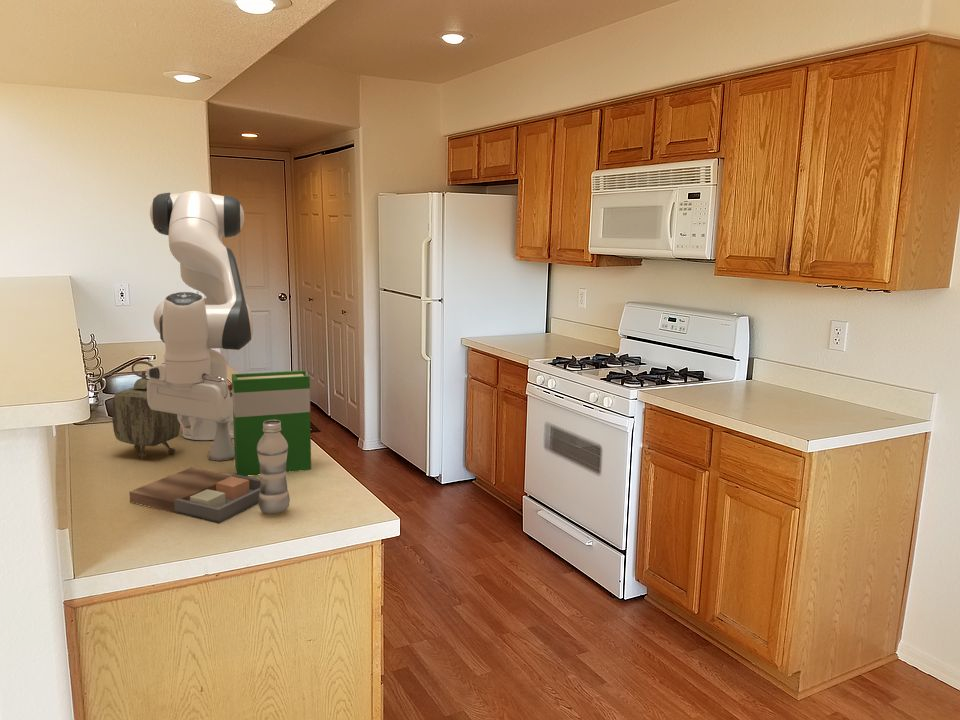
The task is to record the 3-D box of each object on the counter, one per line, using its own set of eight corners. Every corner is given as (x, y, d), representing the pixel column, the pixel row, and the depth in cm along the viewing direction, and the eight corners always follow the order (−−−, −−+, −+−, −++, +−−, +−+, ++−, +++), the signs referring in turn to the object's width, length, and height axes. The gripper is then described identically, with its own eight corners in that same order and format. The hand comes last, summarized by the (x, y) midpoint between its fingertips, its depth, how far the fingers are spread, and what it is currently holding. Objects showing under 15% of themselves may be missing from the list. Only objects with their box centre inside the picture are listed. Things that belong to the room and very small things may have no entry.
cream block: (207, 502, 160) (207, 489, 159) (225, 506, 158) (225, 493, 158) (190, 510, 156) (189, 496, 155) (208, 514, 154) (208, 500, 153)
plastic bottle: (295, 507, 160) (293, 419, 156) (280, 519, 153) (278, 427, 150) (268, 504, 161) (266, 416, 157) (252, 516, 155) (249, 425, 151)
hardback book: (306, 460, 191) (304, 370, 186) (311, 469, 184) (309, 376, 179) (235, 467, 184) (231, 374, 179) (237, 477, 177) (234, 380, 173)
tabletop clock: (182, 453, 194) (177, 360, 189) (159, 463, 185) (153, 366, 180) (136, 447, 197) (130, 356, 193) (111, 457, 189) (104, 362, 184)
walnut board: (191, 477, 176) (191, 467, 176) (234, 486, 171) (234, 475, 171) (130, 502, 160) (129, 491, 160) (175, 513, 155) (174, 502, 155)
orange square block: (232, 488, 168) (232, 476, 168) (249, 492, 166) (249, 479, 166) (216, 495, 164) (215, 483, 163) (233, 499, 162) (233, 486, 161)
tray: (234, 486, 171) (233, 473, 171) (275, 494, 167) (275, 482, 166) (175, 513, 155) (174, 499, 155) (219, 523, 151) (218, 510, 150)
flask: (227, 451, 197) (226, 415, 195) (243, 457, 192) (242, 420, 190) (203, 457, 191) (201, 420, 189) (218, 463, 187) (216, 425, 185)
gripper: (237, 374, 151) (240, 438, 154) (163, 363, 159) (166, 424, 162) (215, 380, 146) (218, 446, 148) (139, 368, 153) (143, 432, 156)
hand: (190, 435), depth 155 cm, fingers closed
